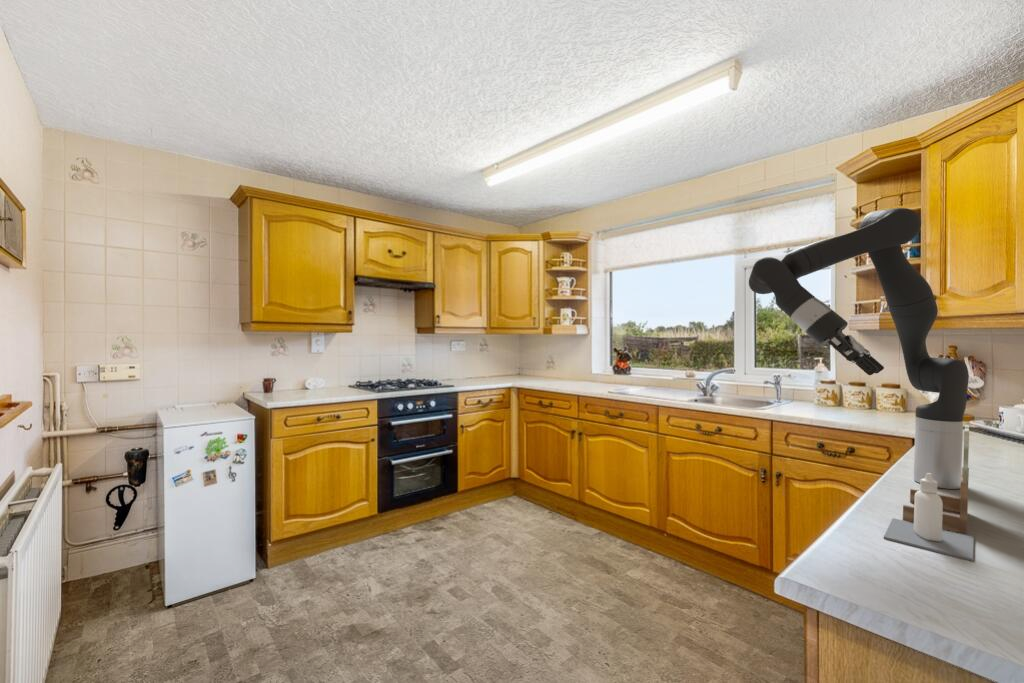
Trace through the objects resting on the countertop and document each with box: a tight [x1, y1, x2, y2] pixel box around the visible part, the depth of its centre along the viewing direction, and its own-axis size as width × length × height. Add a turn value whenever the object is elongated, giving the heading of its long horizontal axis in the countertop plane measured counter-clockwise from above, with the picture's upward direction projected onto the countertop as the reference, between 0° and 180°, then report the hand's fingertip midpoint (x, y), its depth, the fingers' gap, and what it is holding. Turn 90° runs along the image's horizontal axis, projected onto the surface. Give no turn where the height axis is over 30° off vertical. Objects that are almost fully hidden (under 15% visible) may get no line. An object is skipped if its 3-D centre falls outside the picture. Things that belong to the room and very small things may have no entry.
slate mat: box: [883, 517, 975, 562], centre depth 88 cm, size 13×12×1 cm
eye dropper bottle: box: [913, 473, 944, 542], centre depth 88 cm, size 4×6×12 cm
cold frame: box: [902, 421, 970, 535], centre depth 99 cm, size 16×10×20 cm, turn 135°
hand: (877, 371), depth 102 cm, fingers open, 8 cm apart
